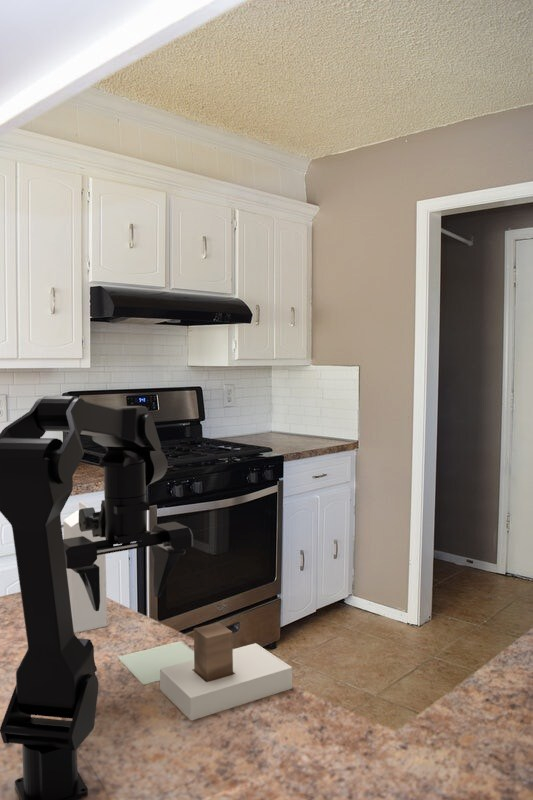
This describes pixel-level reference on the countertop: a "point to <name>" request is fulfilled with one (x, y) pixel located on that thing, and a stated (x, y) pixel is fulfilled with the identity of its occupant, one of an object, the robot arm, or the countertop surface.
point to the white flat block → (226, 682)
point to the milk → (79, 598)
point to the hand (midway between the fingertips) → (127, 603)
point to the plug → (213, 652)
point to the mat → (156, 660)
